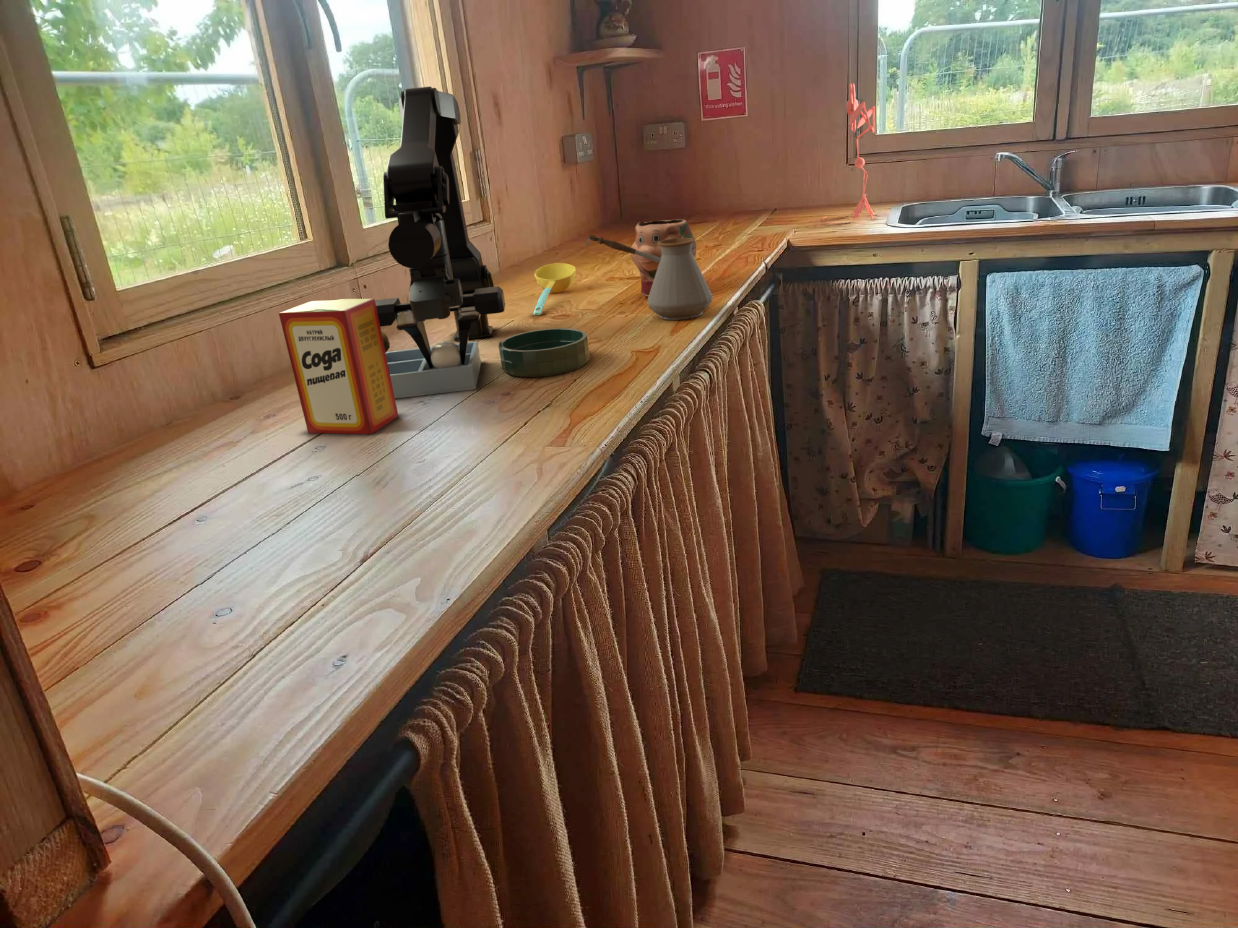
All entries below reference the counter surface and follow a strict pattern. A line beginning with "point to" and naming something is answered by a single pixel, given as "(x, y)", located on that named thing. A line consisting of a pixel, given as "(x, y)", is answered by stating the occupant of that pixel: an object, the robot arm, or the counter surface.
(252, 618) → the counter surface
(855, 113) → the figurine
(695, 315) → the coffee pot
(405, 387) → the divided tray
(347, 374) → the baking soda box
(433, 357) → the egg
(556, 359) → the bowl
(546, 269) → the ladle
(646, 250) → the decorative planter
